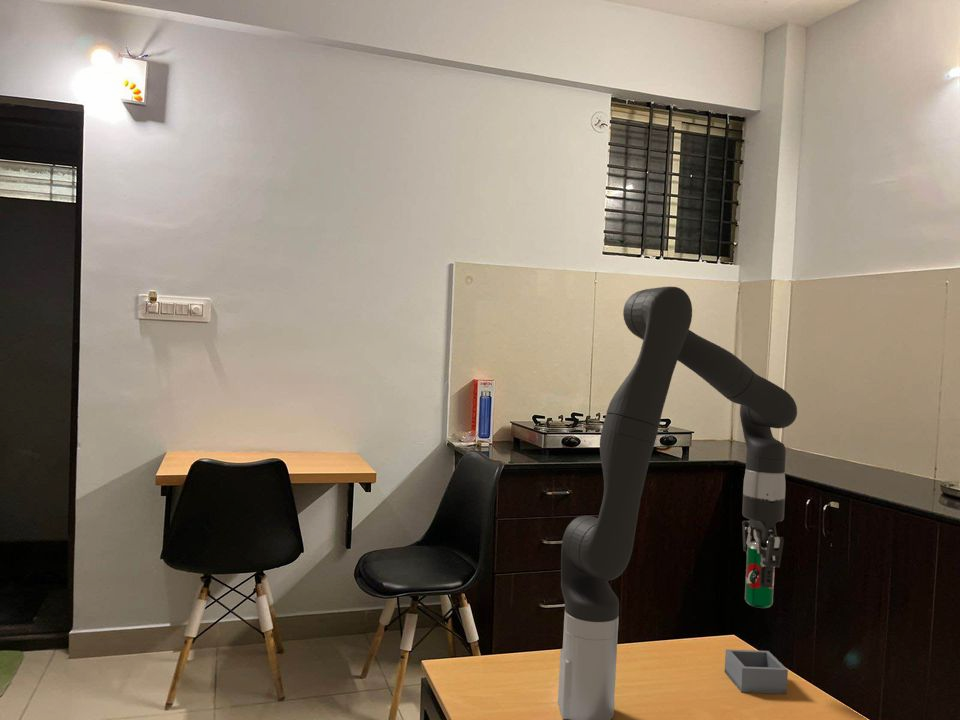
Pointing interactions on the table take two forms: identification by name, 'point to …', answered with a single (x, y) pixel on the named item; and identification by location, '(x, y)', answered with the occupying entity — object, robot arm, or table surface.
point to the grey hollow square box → (756, 671)
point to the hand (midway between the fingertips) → (759, 581)
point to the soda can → (756, 580)
